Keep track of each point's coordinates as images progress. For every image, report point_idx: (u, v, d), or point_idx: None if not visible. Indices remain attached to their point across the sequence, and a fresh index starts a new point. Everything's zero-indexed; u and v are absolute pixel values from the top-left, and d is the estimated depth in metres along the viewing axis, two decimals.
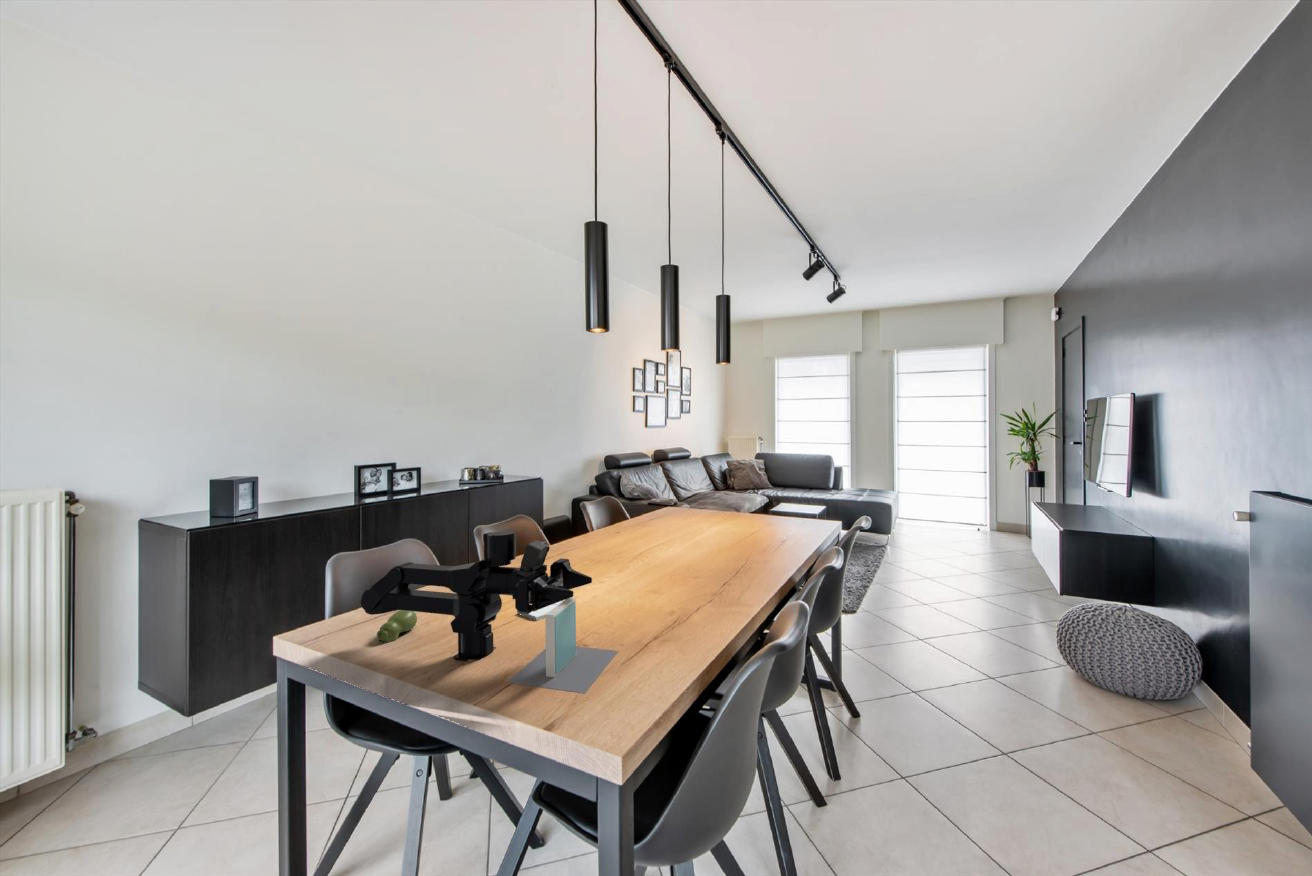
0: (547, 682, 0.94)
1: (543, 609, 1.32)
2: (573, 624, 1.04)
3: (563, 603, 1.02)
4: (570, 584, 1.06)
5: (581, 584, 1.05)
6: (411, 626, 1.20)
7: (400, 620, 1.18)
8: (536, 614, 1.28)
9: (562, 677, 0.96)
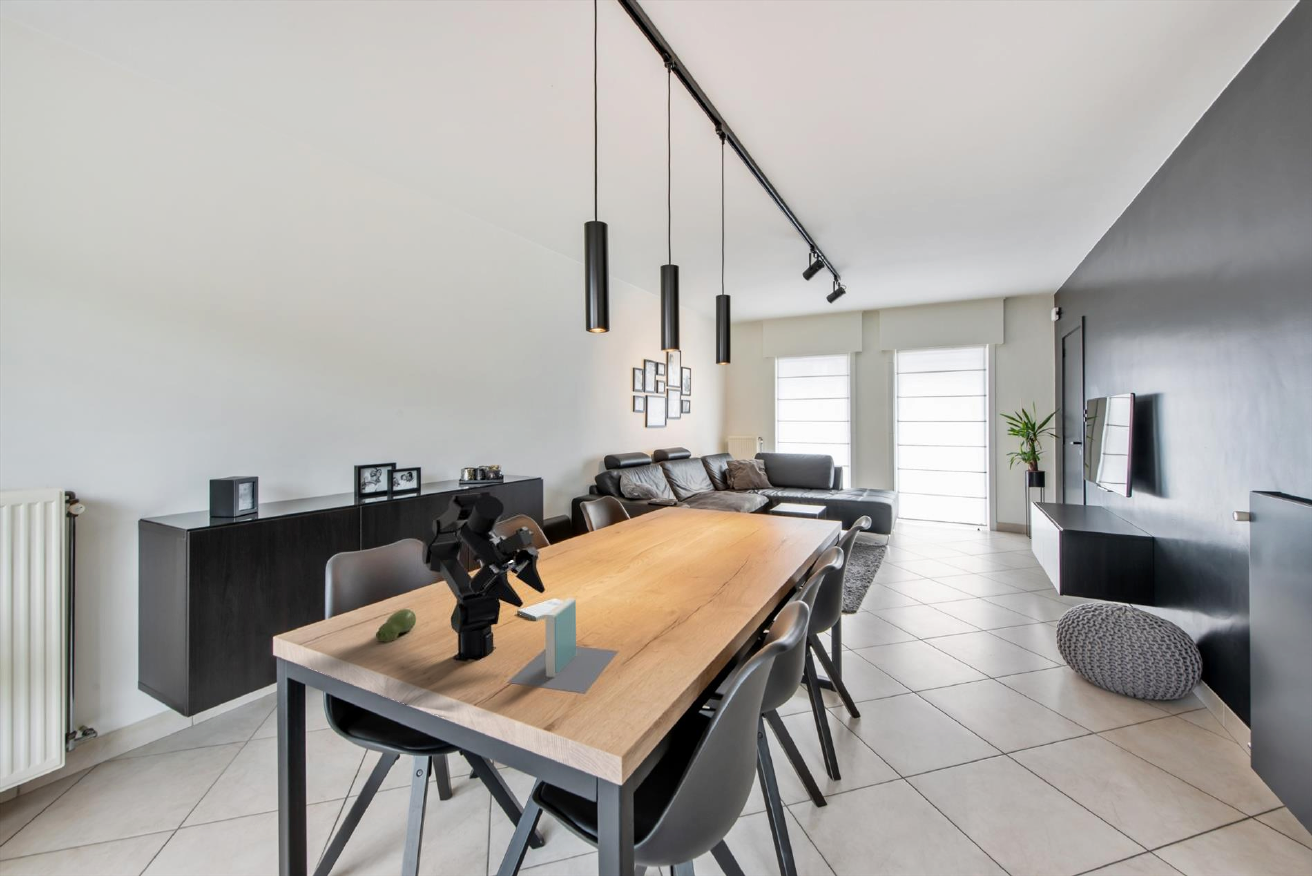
0: (547, 682, 0.94)
1: (543, 609, 1.32)
2: (573, 624, 1.04)
3: (563, 603, 1.02)
4: (525, 578, 1.08)
5: (533, 587, 1.07)
6: (410, 626, 1.20)
7: (399, 621, 1.17)
8: (535, 614, 1.28)
9: (562, 677, 0.96)
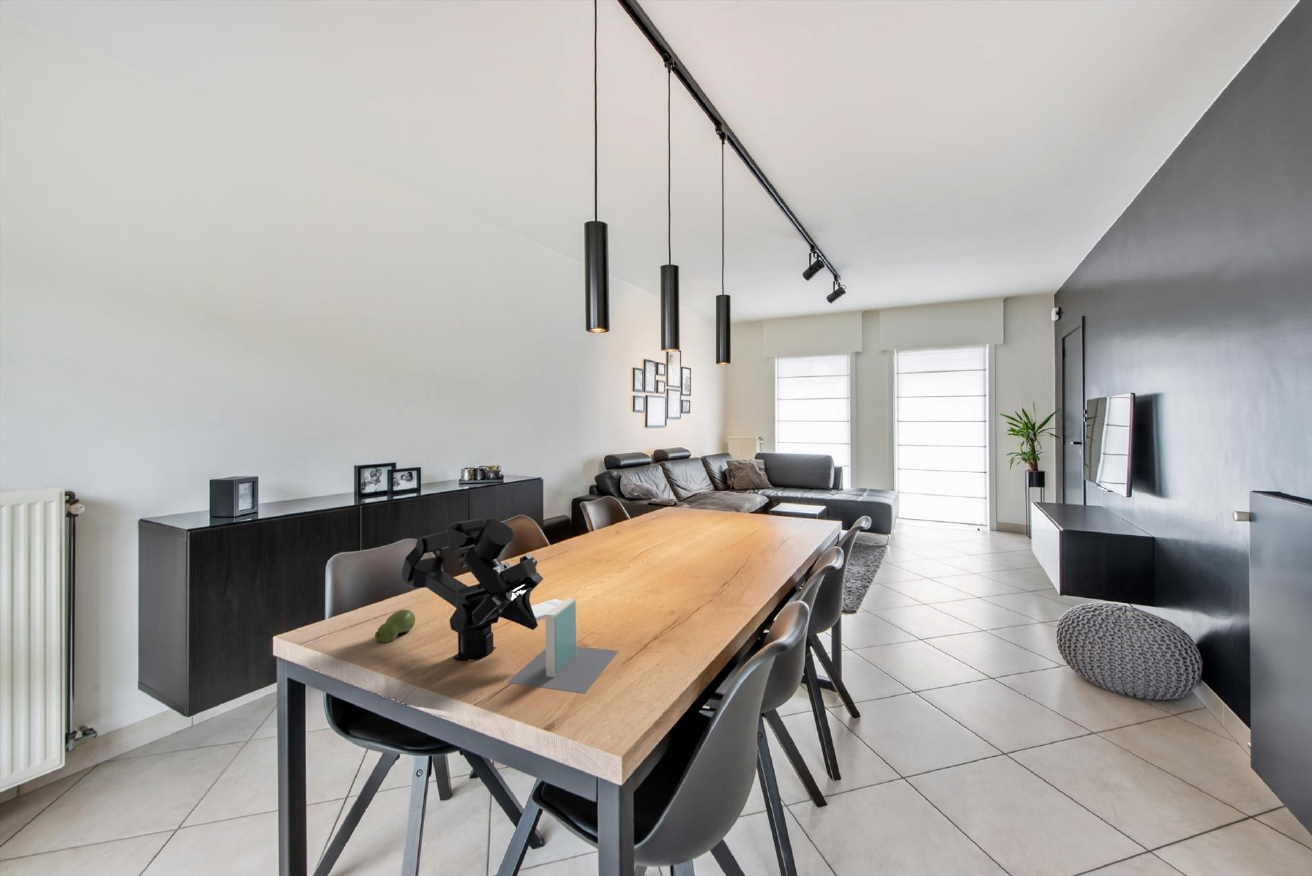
0: (547, 682, 0.94)
1: (543, 609, 1.32)
2: (573, 624, 1.04)
3: (563, 603, 1.02)
4: None
5: None
6: (409, 627, 1.19)
7: (398, 621, 1.17)
8: (535, 614, 1.28)
9: (562, 677, 0.96)
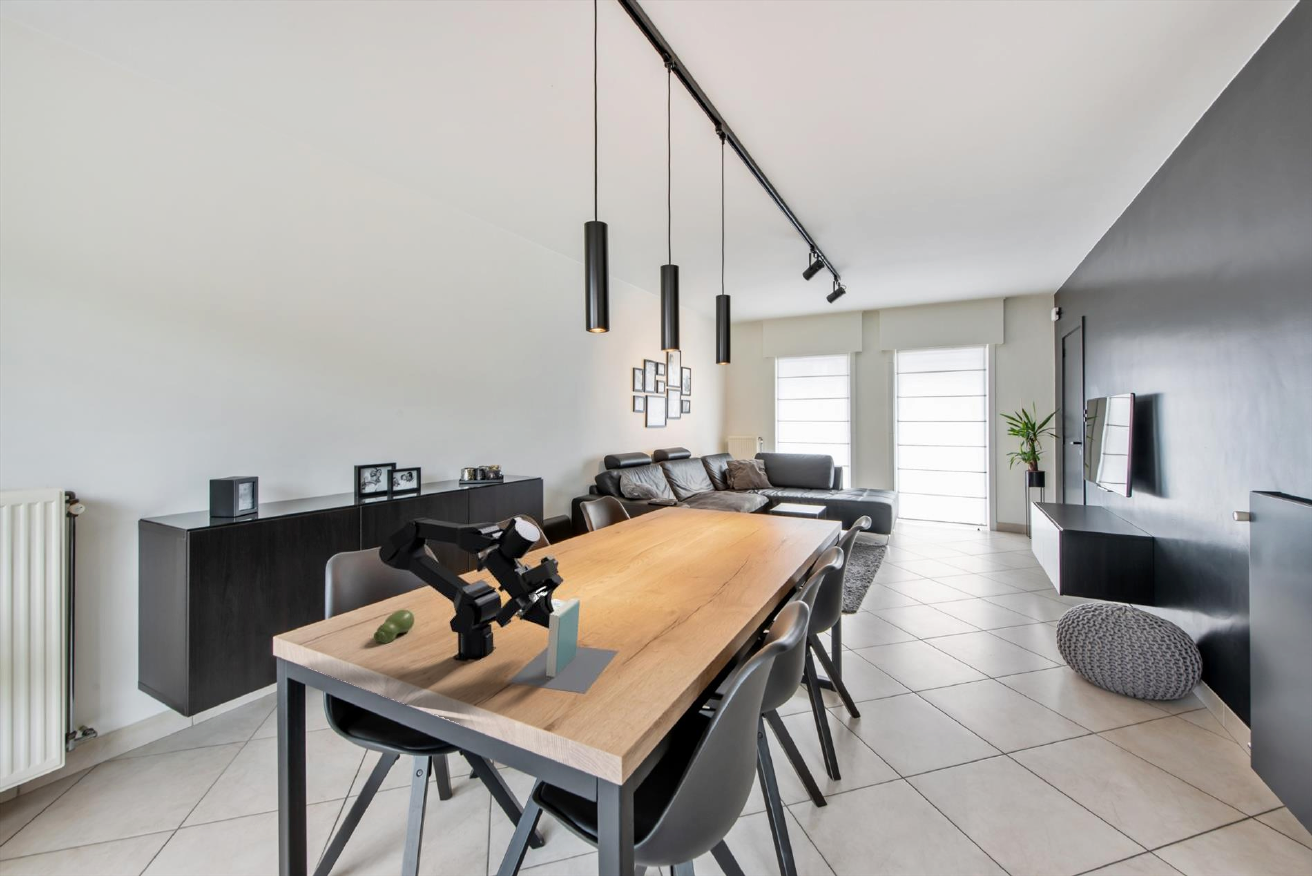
0: (547, 682, 0.94)
1: None
2: (575, 624, 1.04)
3: (567, 603, 1.02)
4: None
5: None
6: (408, 627, 1.19)
7: (397, 621, 1.17)
8: None
9: (562, 677, 0.96)
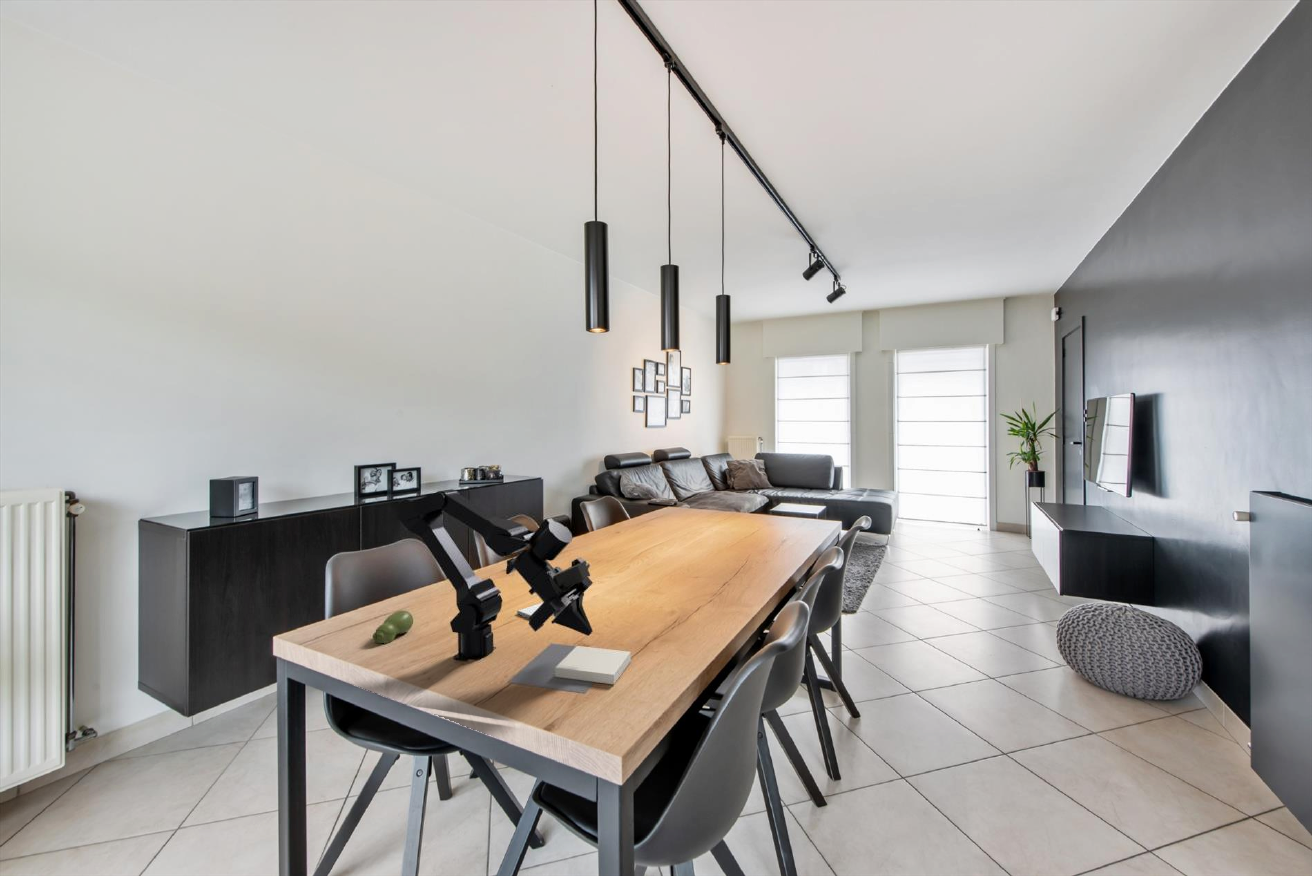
0: (547, 682, 0.94)
1: None
2: None
3: (625, 662, 0.99)
4: None
5: None
6: (407, 628, 1.19)
7: (396, 622, 1.16)
8: None
9: None
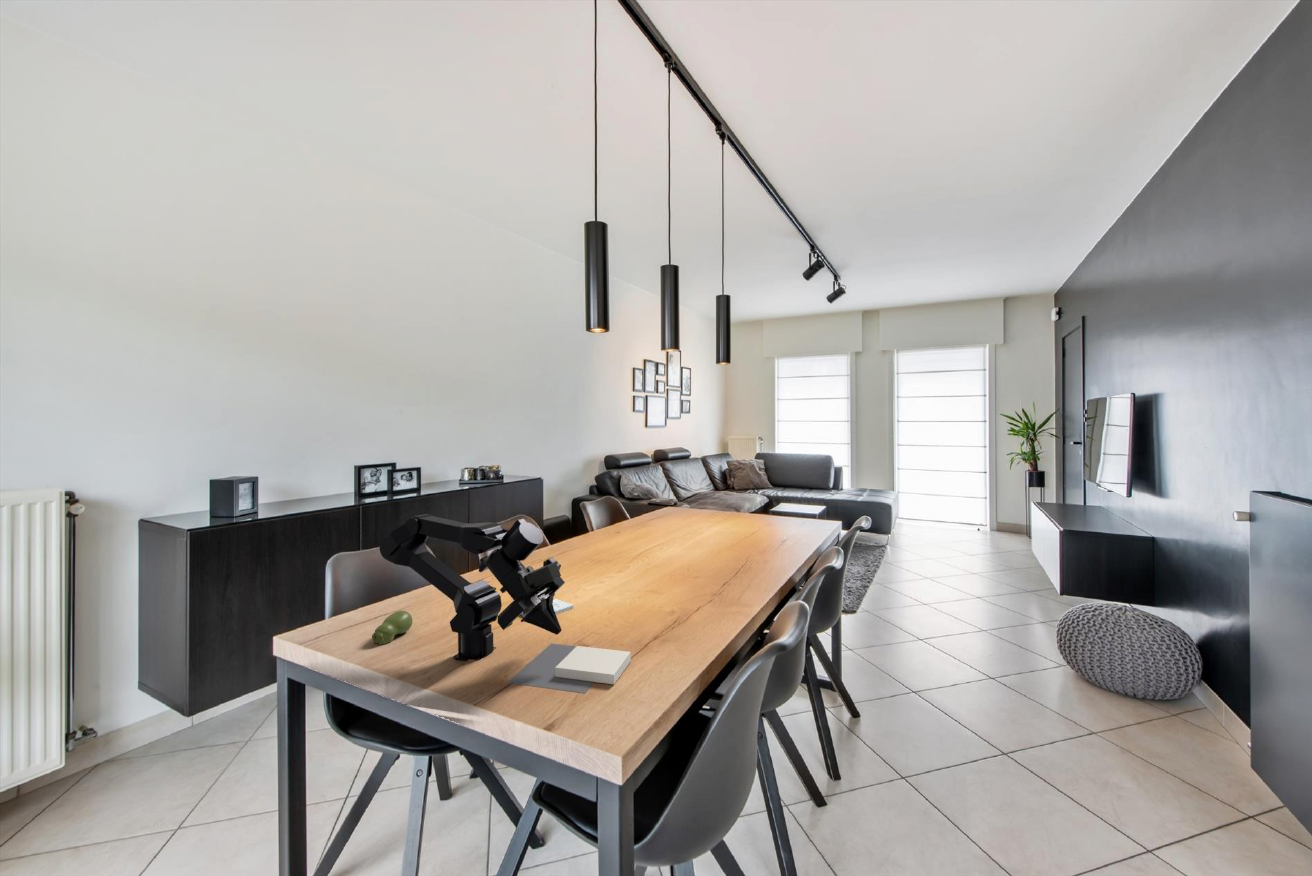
0: (547, 682, 0.94)
1: None
2: None
3: (625, 662, 0.99)
4: None
5: None
6: (406, 628, 1.18)
7: (395, 622, 1.16)
8: None
9: None
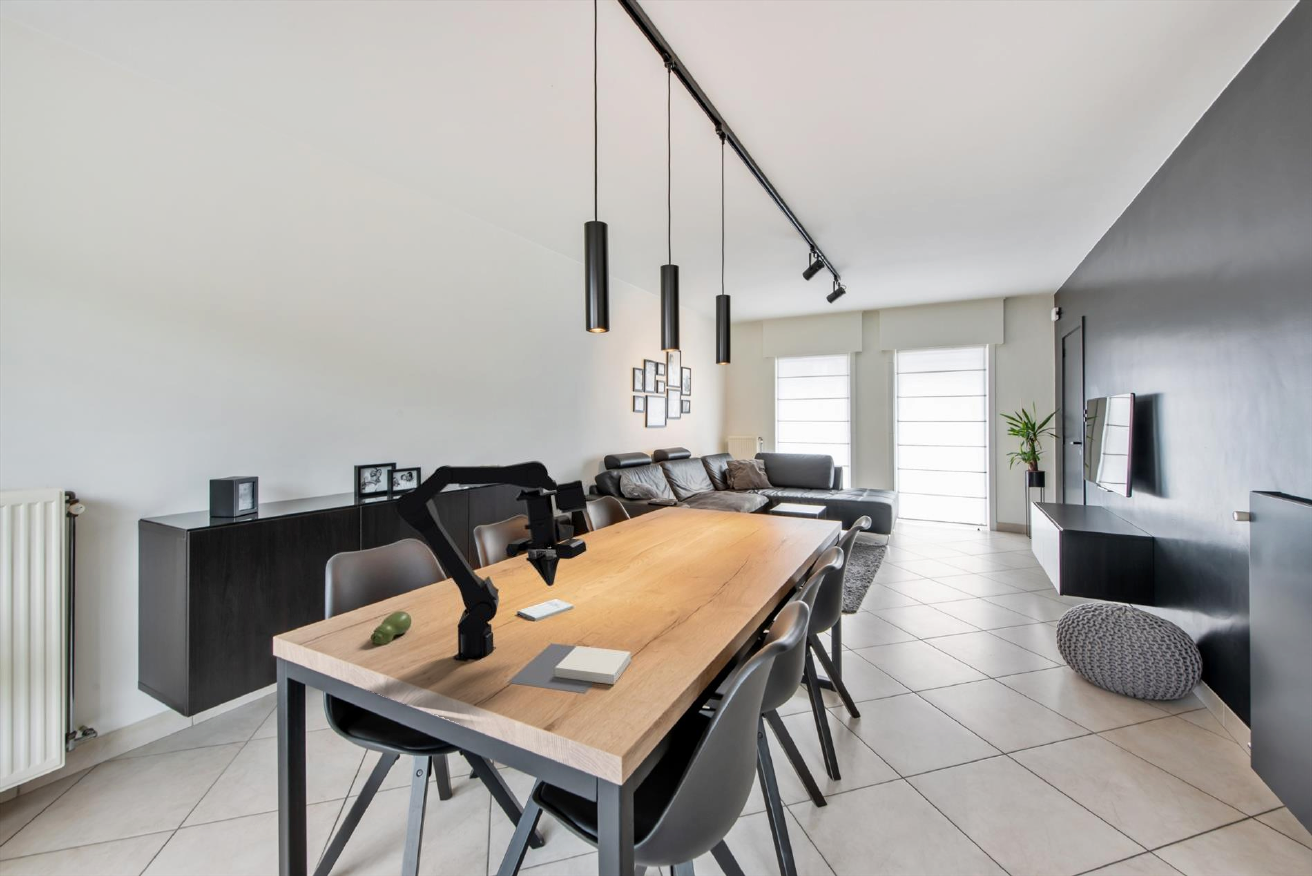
0: (547, 682, 0.94)
1: (543, 610, 1.31)
2: None
3: (625, 662, 0.99)
4: (542, 565, 1.10)
5: (545, 576, 1.10)
6: (405, 629, 1.18)
7: (394, 623, 1.16)
8: (535, 615, 1.28)
9: None
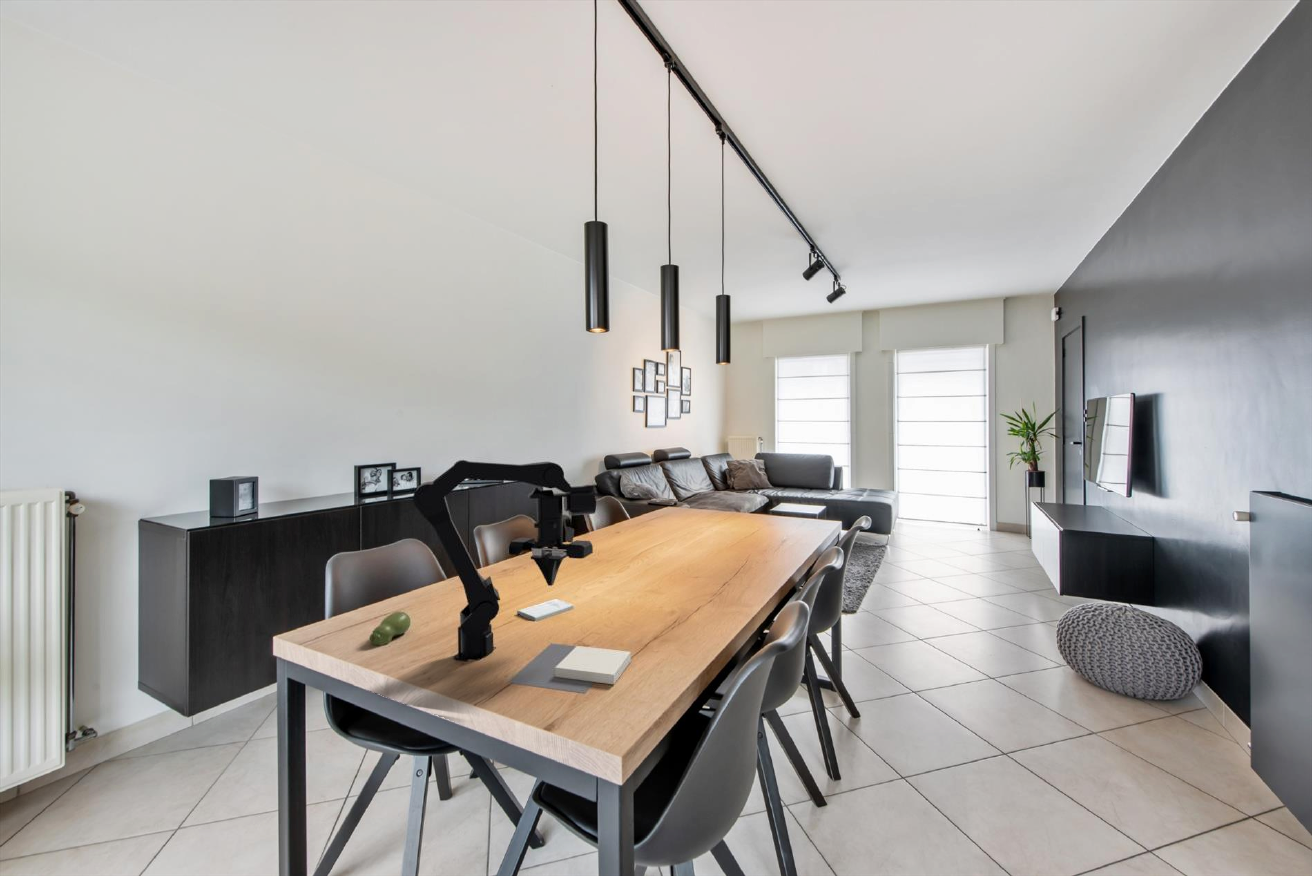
0: (547, 682, 0.94)
1: (543, 610, 1.31)
2: None
3: (625, 662, 0.99)
4: (545, 565, 1.12)
5: (548, 576, 1.12)
6: (404, 629, 1.18)
7: (393, 623, 1.16)
8: (535, 614, 1.28)
9: None
